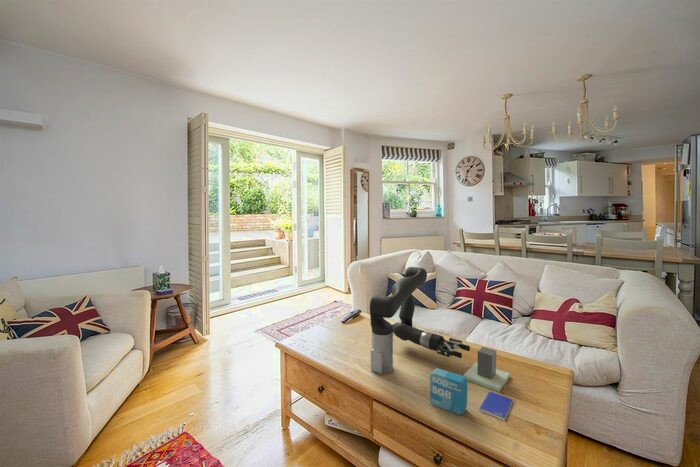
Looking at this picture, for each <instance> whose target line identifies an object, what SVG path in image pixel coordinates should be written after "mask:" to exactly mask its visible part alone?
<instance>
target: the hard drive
mask: <svg viewBox="0 0 700 467" xmlns="http://www.w3.org/2000/svg"><path fill="white" fill-rule="evenodd" d="M513 402H514V401H513V398H510V397H506V396H503V395H501V394H499V393H497V392H496V393H495V392H492V391H488V393H487V395H486V396H485V399H483V401H482V403H481V405H480V407H479V408H478V409H479V411H480V412H482V413H485V414H487V415H488V416H489V415H490V416H493V417H495V418H498V419H500V420H502V421H506V418H507V417H508V414H509V412H510V409H511V407H512V404H513Z"/></svg>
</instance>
